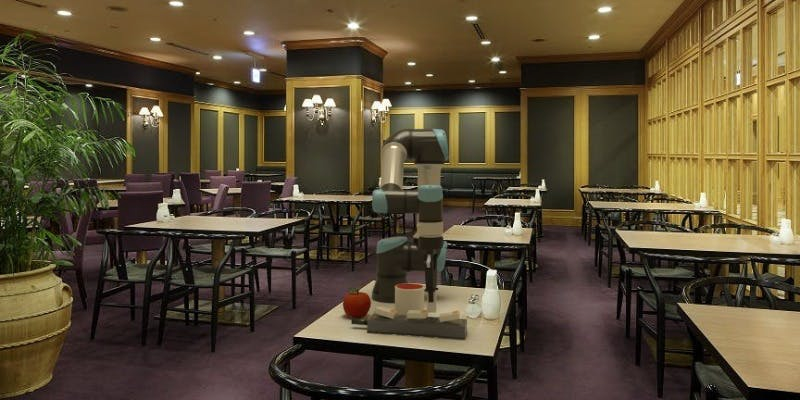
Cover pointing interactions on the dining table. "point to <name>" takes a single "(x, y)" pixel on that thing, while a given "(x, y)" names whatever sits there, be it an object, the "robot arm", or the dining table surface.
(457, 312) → the rocker
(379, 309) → the block
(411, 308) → the cup
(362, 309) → the fruit
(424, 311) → the rocker
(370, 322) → the power strip
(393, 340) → the dining table surface
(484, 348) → the dining table surface
